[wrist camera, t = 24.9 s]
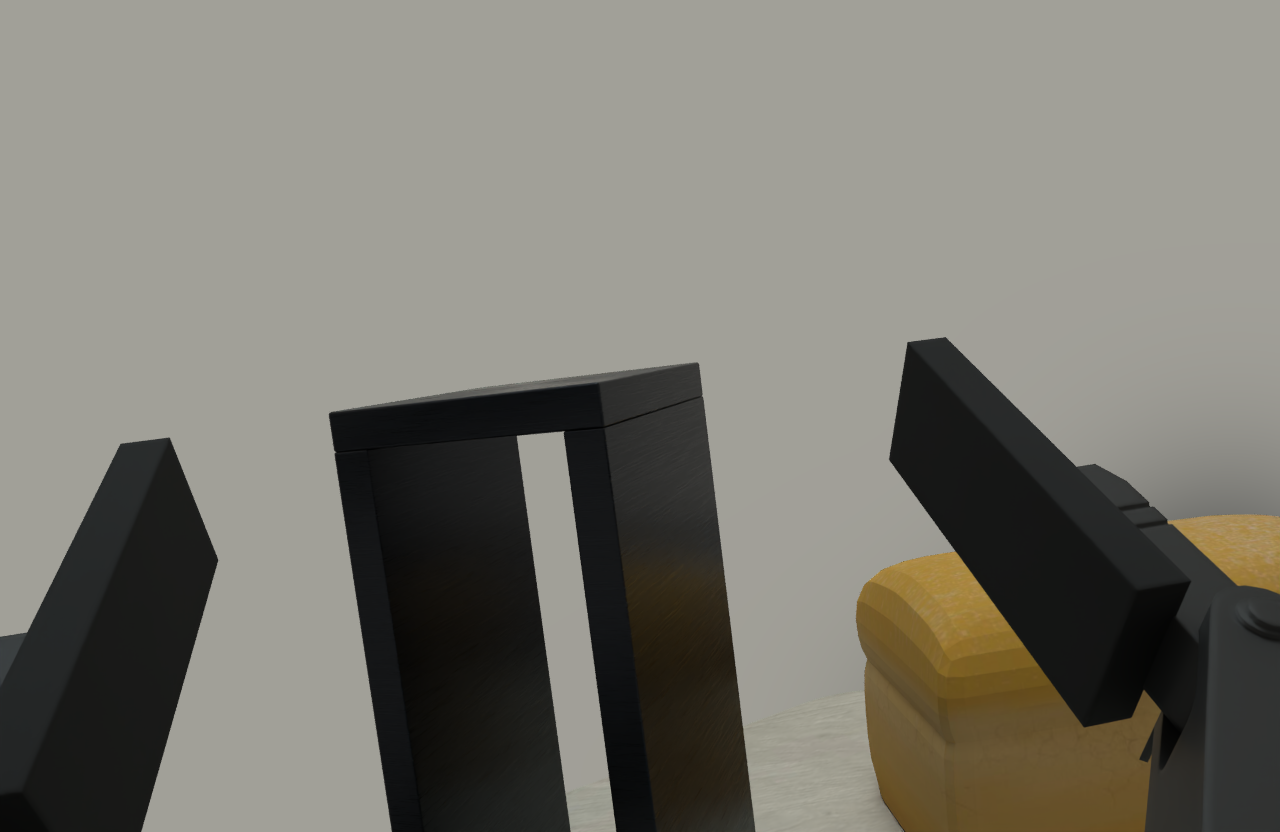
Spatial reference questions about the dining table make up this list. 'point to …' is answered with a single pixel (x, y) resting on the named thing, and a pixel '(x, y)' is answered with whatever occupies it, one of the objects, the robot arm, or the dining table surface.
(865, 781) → the dining table surface
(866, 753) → the dining table surface
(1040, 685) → the bread
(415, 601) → the black arch block
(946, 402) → the robot arm
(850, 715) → the dining table surface
